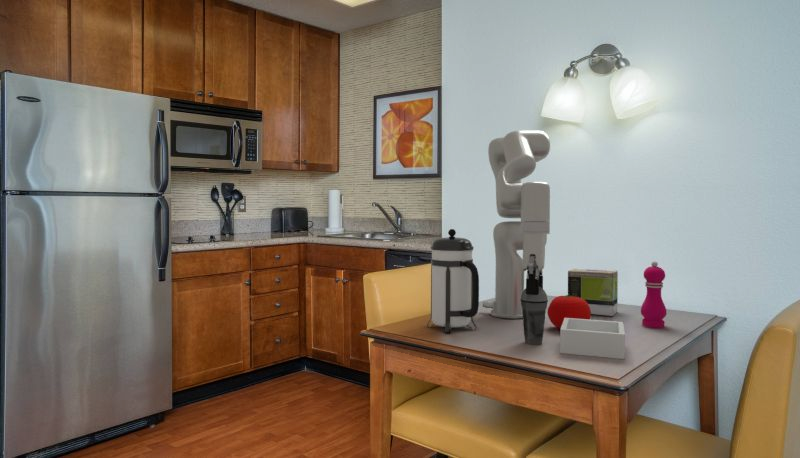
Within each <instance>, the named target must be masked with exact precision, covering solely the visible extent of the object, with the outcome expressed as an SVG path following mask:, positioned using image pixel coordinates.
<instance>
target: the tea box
mask: <svg viewBox="0 0 800 458" xmlns="http://www.w3.org/2000/svg"><path fill="white" fill-rule="evenodd" d="M618 274H619V273H618V270H616V269H611V270H610V269H598V268H597V269H596V268H595V269H592V268H572V269H570V270H568V271H567V295H568V294H569V295H570V296H574V297H576V296H577V297H579V298H582V299H584V300H585V301H586V302H587V303H588V305H589V307H590V310H591V315H598V316H608V317H609V316H610V317H613V316H614V315H616V313H617V312H618V295H619V294H618V291H619V290H618V289H619V288H618V282H619V281H618V277H619V275H618Z"/></svg>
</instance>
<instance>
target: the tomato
mask: <svg viewBox="0 0 800 458" xmlns="http://www.w3.org/2000/svg"><path fill="white" fill-rule="evenodd" d="M547 316H548V320H549V321H550V322H551V324H552V325H553V326H554V327H556V328H558V329H561V326H562V324H563V321H564V318H575V319H589V320H591V318H592V317H591V316H592V314H591V310H590V307H589V305H588V303H587V302H586V301H585V300H584V299H582V298H579V297H577V296H576V297H574V296H570V295H569V294H568V293H567V294H565V295H558V296H555V297H554V298H553V299H552V300H551V301H550V302H549V306H547Z"/></svg>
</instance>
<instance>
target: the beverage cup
mask: <svg viewBox="0 0 800 458" xmlns="http://www.w3.org/2000/svg"><path fill="white" fill-rule="evenodd" d="M538 279H539V271H538ZM520 301H521V306H522V312H523V318H522V321H523V322H522V323H523V324H522V325H523V337H524V343H525V344H527V345H532V346H539V345H542V344H543V340H544V339H543V338H544V332H545V331H544V330H545V324H546V323H545V319H546V310H547V309H548V302H549V301H548V294H547V293H546V291H545V289H542V288H541V287H539V294H538V295H527V294H526V288H524V291H523V292H522V295H521V299H520Z"/></svg>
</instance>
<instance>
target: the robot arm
mask: <svg viewBox="0 0 800 458" xmlns="http://www.w3.org/2000/svg"><path fill="white" fill-rule="evenodd" d="M487 149H488V150H487V151H488V161H489V165H490V168H491V171H492V173H493V176H494V178H495V179H494V180H495V199H496V200H495V201H496V203H495V204H496V212H497V214H498V216H499V217H500V218H503V219H520V220H519V221H517V220H516V221H515V220H514V221H513V220H511V221H509V220H508V221H500V222H499V223H497V224H496V225H495V226H494V227H493V230H492V231H493V235H492V237H493V243H494V244H493V245H494V253H495V286H494V287H495V288H494V292H495V297H494V298H495V300H493V301H491V302H489V301H482V307H483V308H484V309H491V310H490V315H491V316H493V317H495V318H499V319H523V312H522V306H521V301H520V299H521V295H522V292H523V291H524V289H526V294H527V295H538V294H539V287H541V288H542V289H543V288H544V277H543V276H544V275H543V269H544V268H545V262H546V261H545V259H546V258H545V257H546V245H547V243H548V242H547V240H548V235H549V234H551V233H550V231H551V229H550V228H551V227H550V224H551V223H550V221H551V219H550V218H551V216H550V215H551V214H550V213H551V209H550V208H551V187H550V184H549V183H548V182H544V181H529V182H528V181H527V182H524V183H522V180H523V179H525V178H527V177H529V176H530V175H532V174H533V173H534V171H535V170H536V167H537V163H539V162H540V161H542V160H545V159H546V158H547V157H548V155H549V153H550V149H551V142H550V138H549V135H548V134H547V133H546V132H544V131H543V130H515V131H510V132H508V133H507V134H505V136H504V137H502V136H501V137H498V138H494V139H493V140H491V141H490V142H489V144H488V148H487ZM517 251H522V257H521V256H520V255H519V253H518V252H517ZM538 271H539V279H538ZM525 272H526V279H525ZM543 290H544V289H543Z"/></svg>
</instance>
